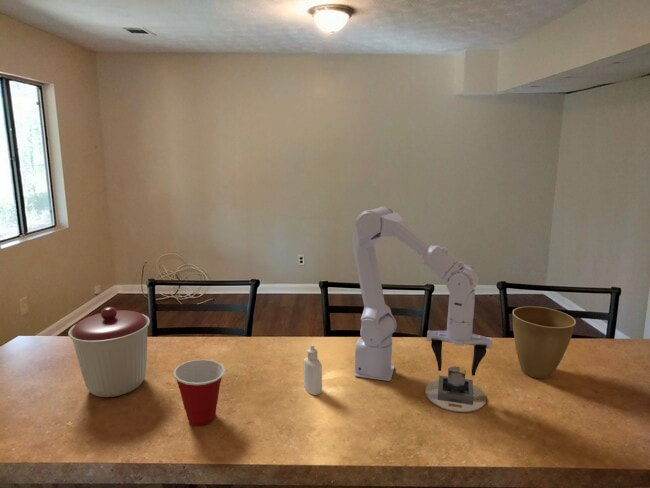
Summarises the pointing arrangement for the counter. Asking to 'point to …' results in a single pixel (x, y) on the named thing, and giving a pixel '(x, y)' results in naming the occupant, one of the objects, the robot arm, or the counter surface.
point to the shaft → (456, 379)
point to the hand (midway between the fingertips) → (456, 371)
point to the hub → (455, 396)
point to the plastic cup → (199, 389)
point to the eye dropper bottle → (312, 372)
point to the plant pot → (541, 339)
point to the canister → (112, 351)
